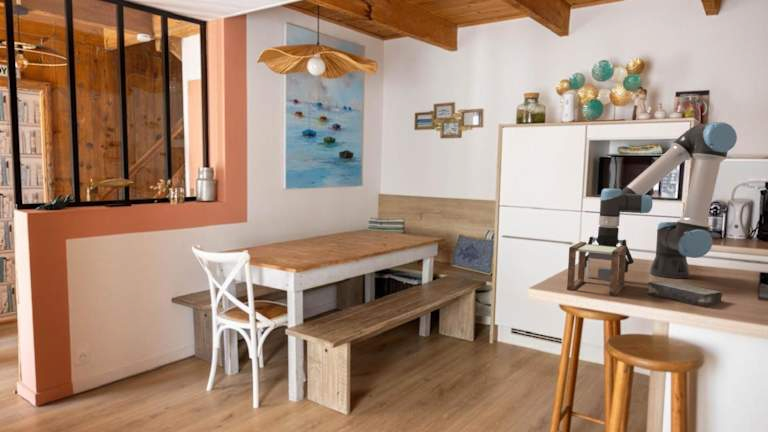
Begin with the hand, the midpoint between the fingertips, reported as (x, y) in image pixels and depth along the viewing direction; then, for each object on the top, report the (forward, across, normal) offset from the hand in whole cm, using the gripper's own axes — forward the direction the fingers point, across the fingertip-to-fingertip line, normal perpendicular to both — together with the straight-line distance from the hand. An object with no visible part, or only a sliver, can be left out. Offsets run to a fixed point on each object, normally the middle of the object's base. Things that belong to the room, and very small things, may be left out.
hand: (604, 277), depth 216 cm
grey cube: (+1, 0, 0) cm, 1 cm away
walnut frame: (+1, 0, -19) cm, 19 cm away
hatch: (-9, 0, -15) cm, 18 cm away
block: (+1, +29, -16) cm, 33 cm away
